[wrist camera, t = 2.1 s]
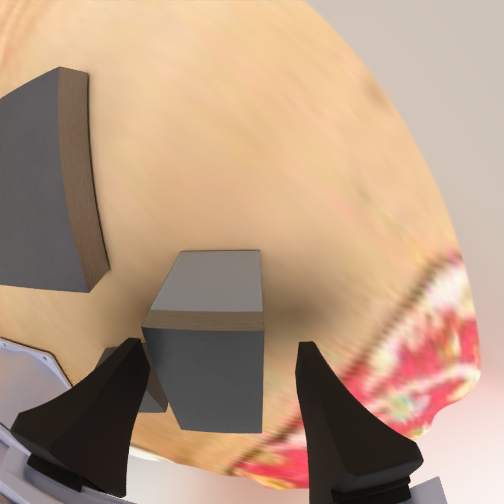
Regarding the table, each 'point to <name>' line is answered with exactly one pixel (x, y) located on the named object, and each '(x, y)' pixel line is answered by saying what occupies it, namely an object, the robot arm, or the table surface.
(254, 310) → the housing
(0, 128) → the stand
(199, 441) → the table surface
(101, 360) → the rubber block
